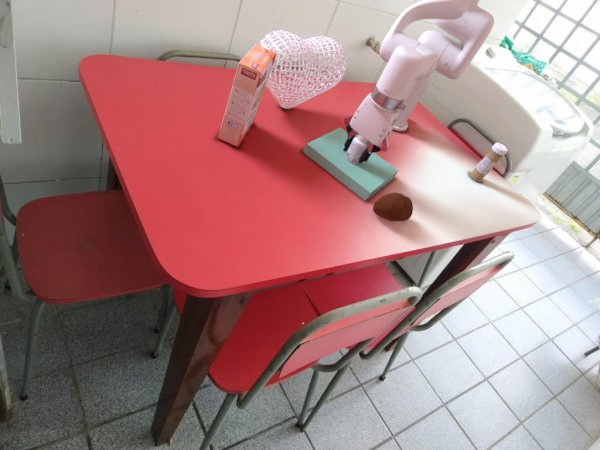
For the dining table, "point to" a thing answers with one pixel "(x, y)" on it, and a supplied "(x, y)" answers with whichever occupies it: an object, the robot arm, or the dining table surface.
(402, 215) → the potato
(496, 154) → the sprinkles bottle
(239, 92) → the cracker box
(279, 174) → the dining table surface
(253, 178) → the dining table surface
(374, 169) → the foam pad
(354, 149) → the pill bottle
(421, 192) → the dining table surface
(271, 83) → the heart
